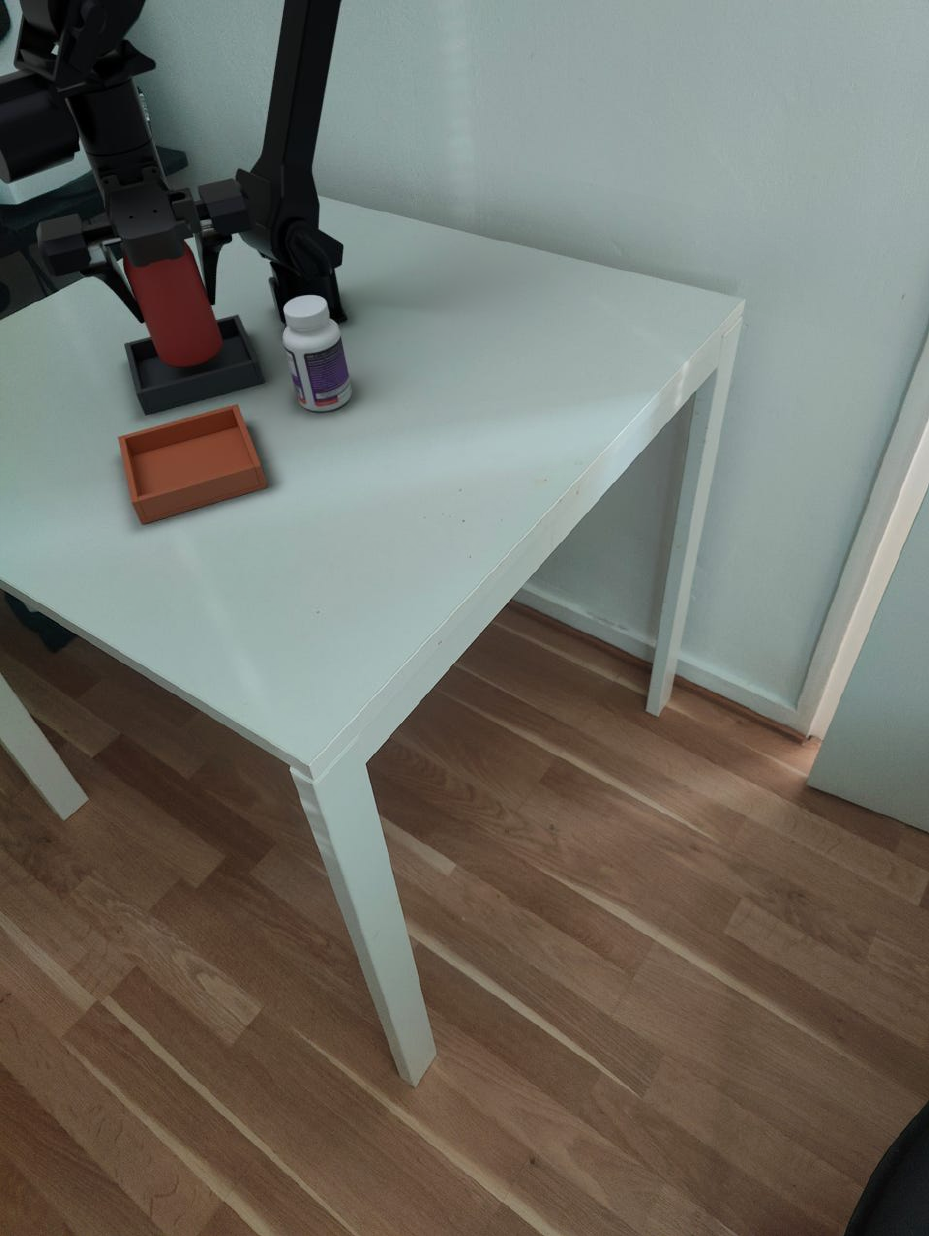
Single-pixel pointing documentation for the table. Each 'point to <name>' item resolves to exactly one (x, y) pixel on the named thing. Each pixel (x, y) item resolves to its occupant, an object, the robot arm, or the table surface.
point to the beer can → (176, 309)
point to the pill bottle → (315, 354)
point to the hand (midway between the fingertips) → (177, 312)
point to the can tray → (194, 371)
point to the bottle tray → (190, 463)
